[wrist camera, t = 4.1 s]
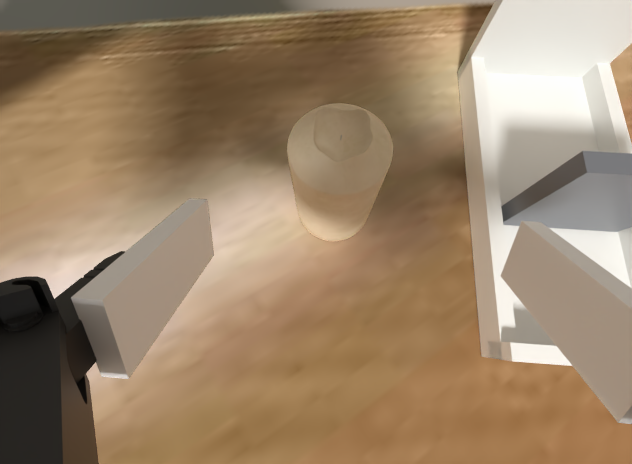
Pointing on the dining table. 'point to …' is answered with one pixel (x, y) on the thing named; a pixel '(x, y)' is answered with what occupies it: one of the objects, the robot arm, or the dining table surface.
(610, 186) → the plate
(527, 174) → the pusher lane
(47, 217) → the dining table surface
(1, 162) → the dining table surface
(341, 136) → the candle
